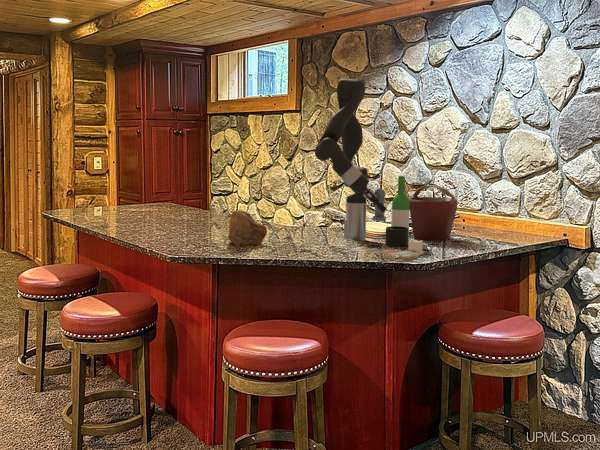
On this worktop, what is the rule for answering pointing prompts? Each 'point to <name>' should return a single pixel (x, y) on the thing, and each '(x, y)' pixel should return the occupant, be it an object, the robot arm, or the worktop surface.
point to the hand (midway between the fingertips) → (384, 210)
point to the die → (415, 246)
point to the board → (402, 255)
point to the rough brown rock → (245, 229)
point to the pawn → (378, 213)
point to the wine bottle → (401, 206)
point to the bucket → (432, 215)
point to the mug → (396, 236)
